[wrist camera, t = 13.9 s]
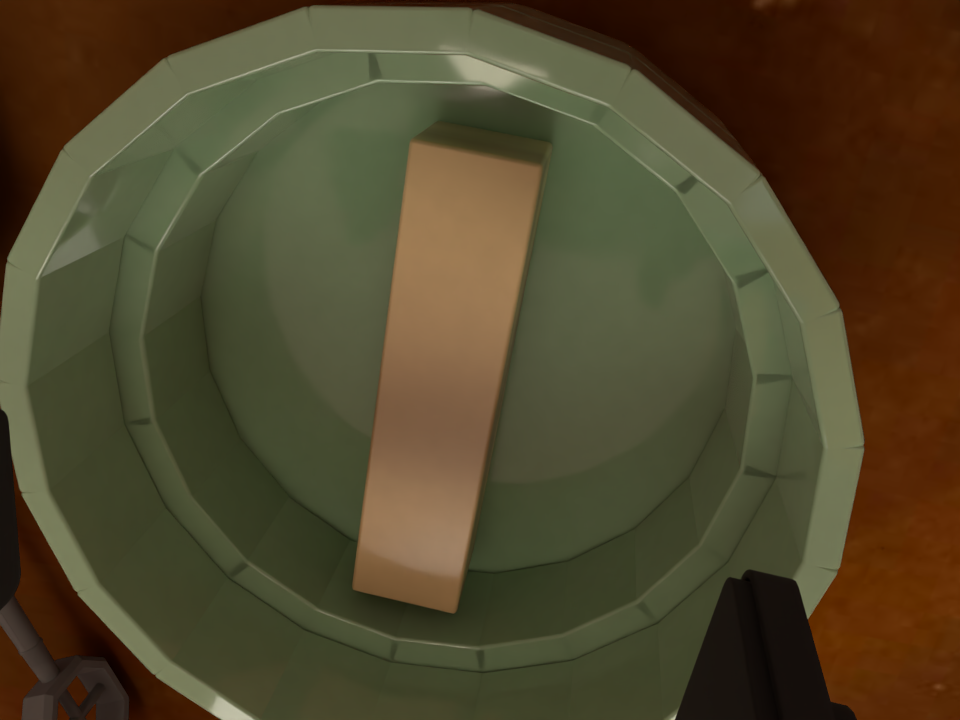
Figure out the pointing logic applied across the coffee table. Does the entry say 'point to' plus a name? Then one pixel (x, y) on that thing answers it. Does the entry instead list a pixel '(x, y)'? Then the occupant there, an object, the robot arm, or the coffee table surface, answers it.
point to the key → (62, 676)
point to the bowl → (357, 359)
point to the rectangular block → (446, 356)
